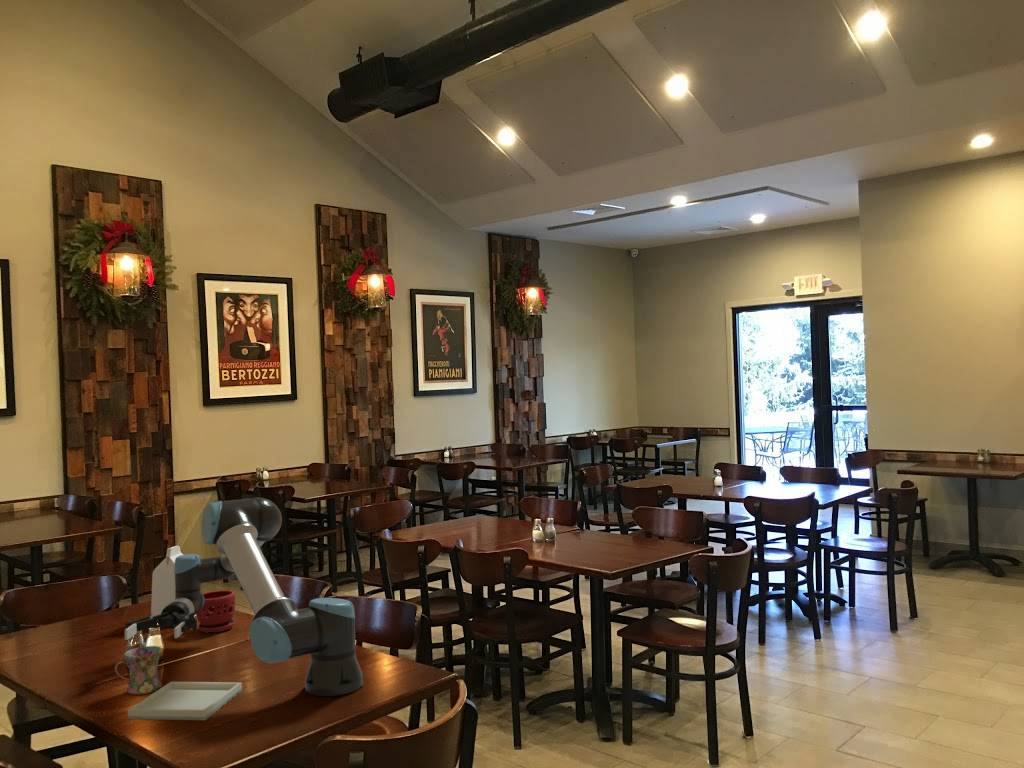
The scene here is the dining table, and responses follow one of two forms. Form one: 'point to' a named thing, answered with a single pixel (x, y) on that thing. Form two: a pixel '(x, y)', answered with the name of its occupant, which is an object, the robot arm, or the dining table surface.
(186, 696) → the tray
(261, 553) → the robot arm
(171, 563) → the milk
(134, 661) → the mug
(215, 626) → the plant pot
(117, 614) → the dining table surface
